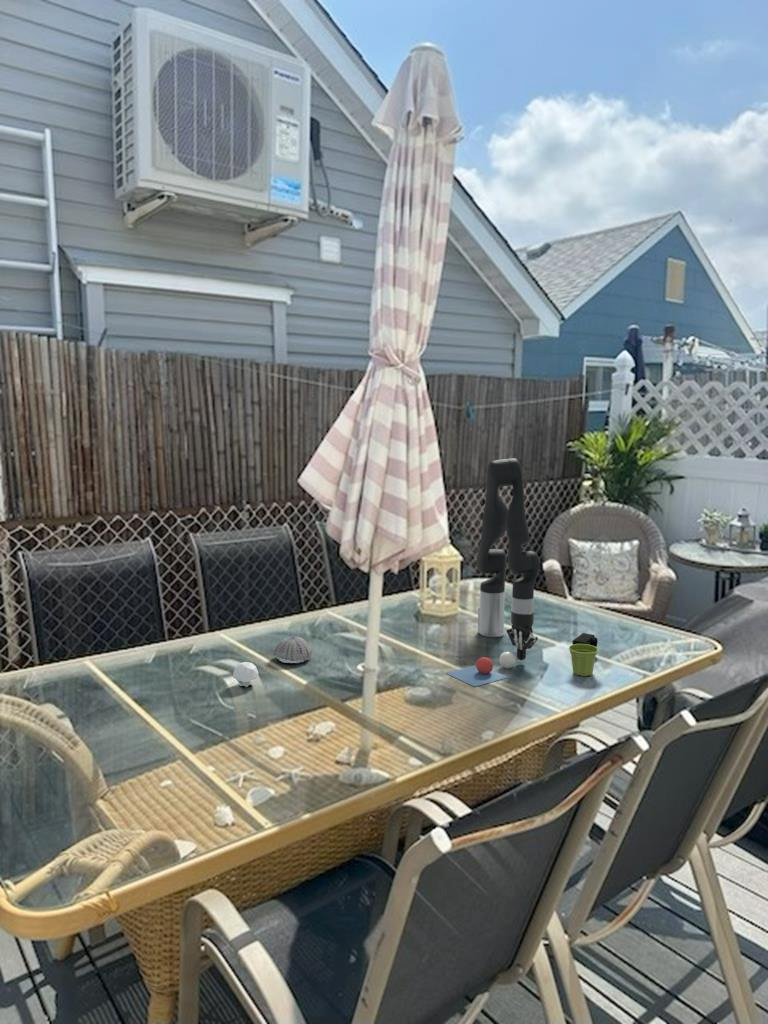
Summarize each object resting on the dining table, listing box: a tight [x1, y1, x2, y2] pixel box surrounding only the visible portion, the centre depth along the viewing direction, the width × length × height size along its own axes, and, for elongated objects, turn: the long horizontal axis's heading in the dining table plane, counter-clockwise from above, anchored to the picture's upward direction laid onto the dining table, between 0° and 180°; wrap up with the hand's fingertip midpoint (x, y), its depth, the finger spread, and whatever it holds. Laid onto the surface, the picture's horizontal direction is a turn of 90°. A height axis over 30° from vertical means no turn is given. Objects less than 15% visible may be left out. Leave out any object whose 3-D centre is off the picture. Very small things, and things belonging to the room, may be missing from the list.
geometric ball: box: [232, 661, 259, 682], centre depth 224 cm, size 8×8×8 cm
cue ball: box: [498, 651, 517, 669], centre depth 240 cm, size 6×6×6 cm
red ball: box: [475, 656, 494, 674], centre depth 234 cm, size 6×6×6 cm
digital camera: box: [572, 632, 598, 648], centre depth 250 cm, size 10×5×7 cm, turn 145°
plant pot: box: [568, 643, 599, 677], centre depth 234 cm, size 9×9×9 cm
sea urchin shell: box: [273, 636, 313, 661], centre depth 248 cm, size 13×14×8 cm
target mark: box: [446, 665, 508, 688], centre depth 233 cm, size 14×14×1 cm
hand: (521, 659), depth 244 cm, fingers closed
